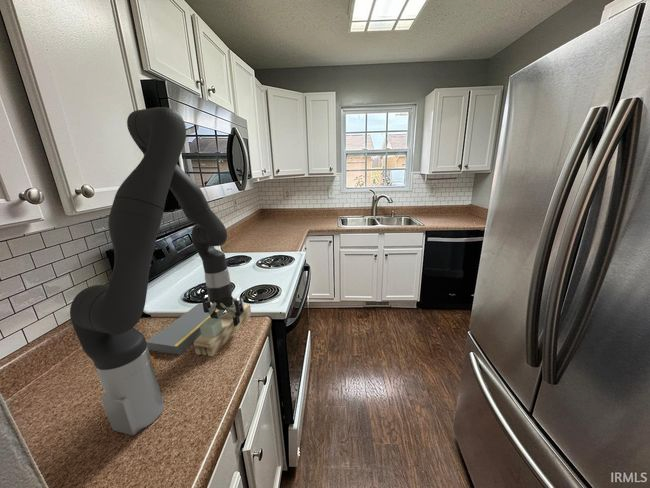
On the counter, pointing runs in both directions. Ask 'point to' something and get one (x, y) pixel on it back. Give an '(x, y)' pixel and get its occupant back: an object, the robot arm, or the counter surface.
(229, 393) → the counter surface
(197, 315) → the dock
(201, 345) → the beige blocky bar
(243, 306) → the crate grey
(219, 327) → the crate sage
